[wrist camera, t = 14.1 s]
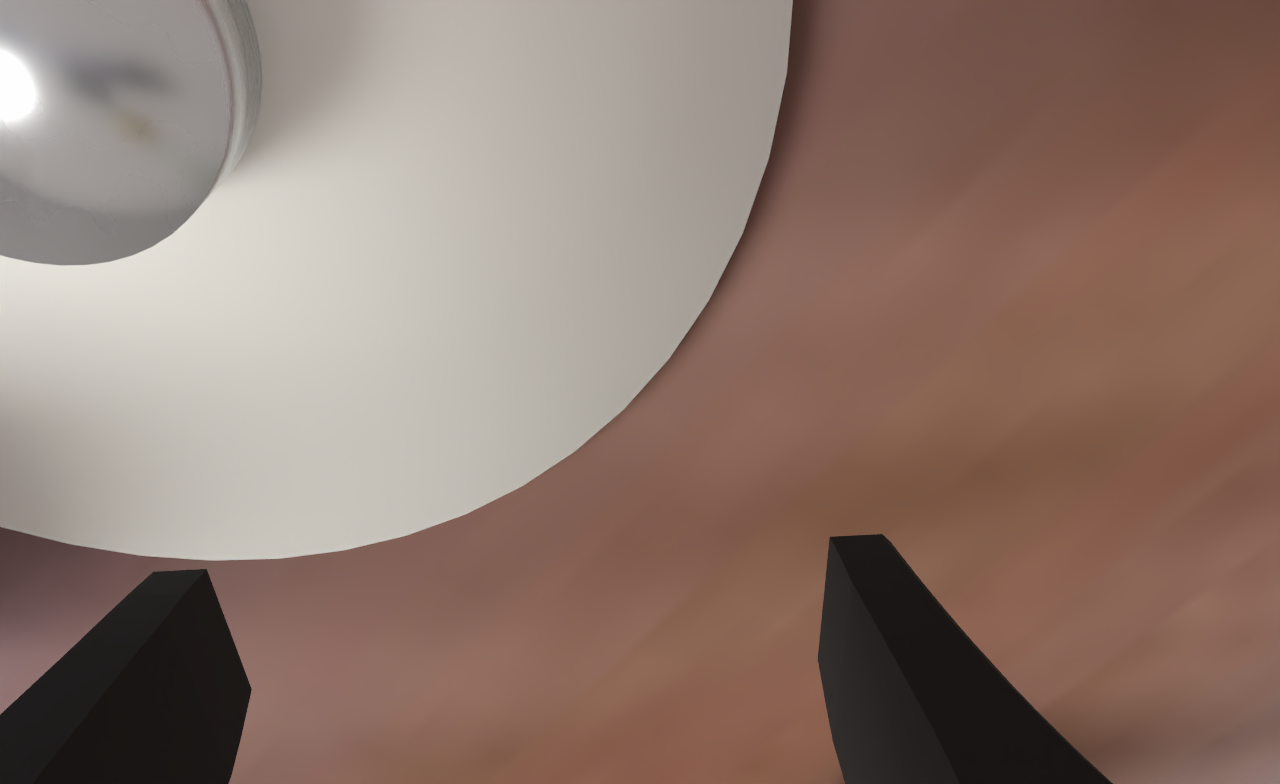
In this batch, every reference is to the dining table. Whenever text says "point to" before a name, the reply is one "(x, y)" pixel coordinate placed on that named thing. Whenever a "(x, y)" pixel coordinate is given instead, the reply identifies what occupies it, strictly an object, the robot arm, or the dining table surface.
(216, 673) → the robot arm
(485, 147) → the white plate
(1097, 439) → the dining table surface
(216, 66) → the white and tan pieces
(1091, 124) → the dining table surface
